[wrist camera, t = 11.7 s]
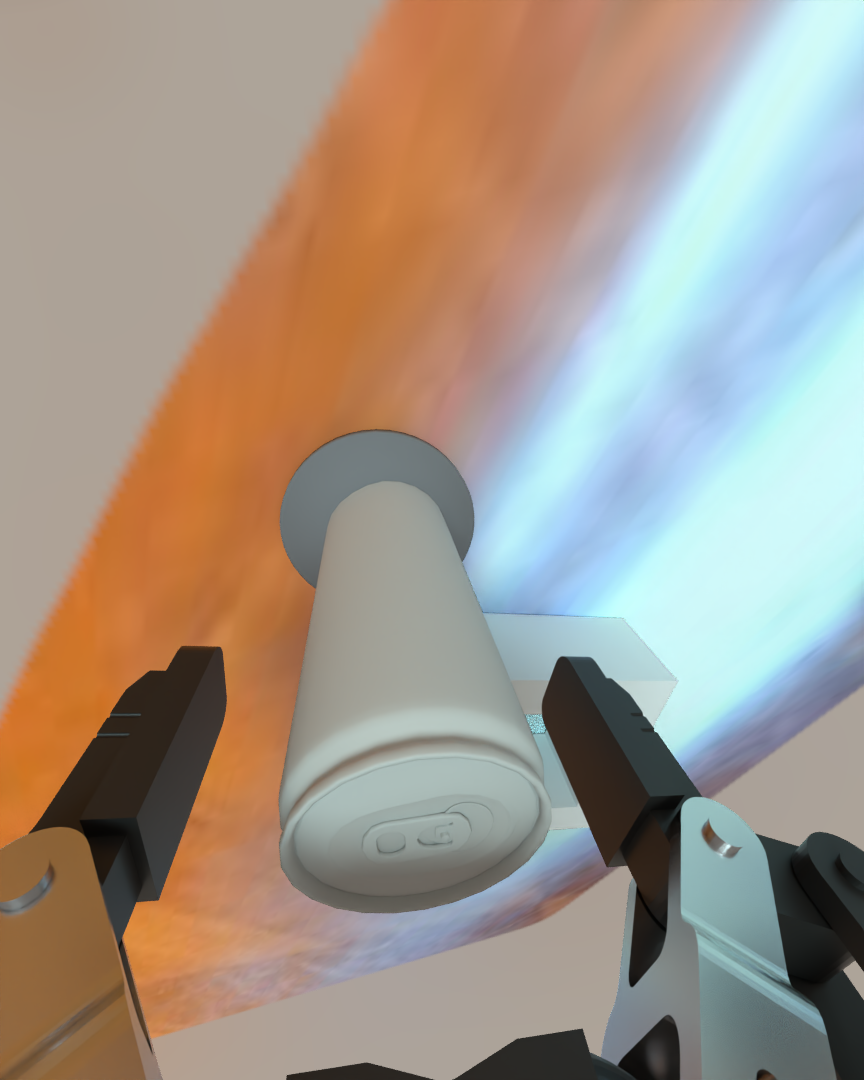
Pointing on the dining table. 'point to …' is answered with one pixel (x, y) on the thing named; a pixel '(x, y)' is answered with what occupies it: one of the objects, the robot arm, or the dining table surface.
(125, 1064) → the robot arm
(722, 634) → the dining table surface
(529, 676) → the pocket block
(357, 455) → the coaster
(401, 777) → the beverage can
